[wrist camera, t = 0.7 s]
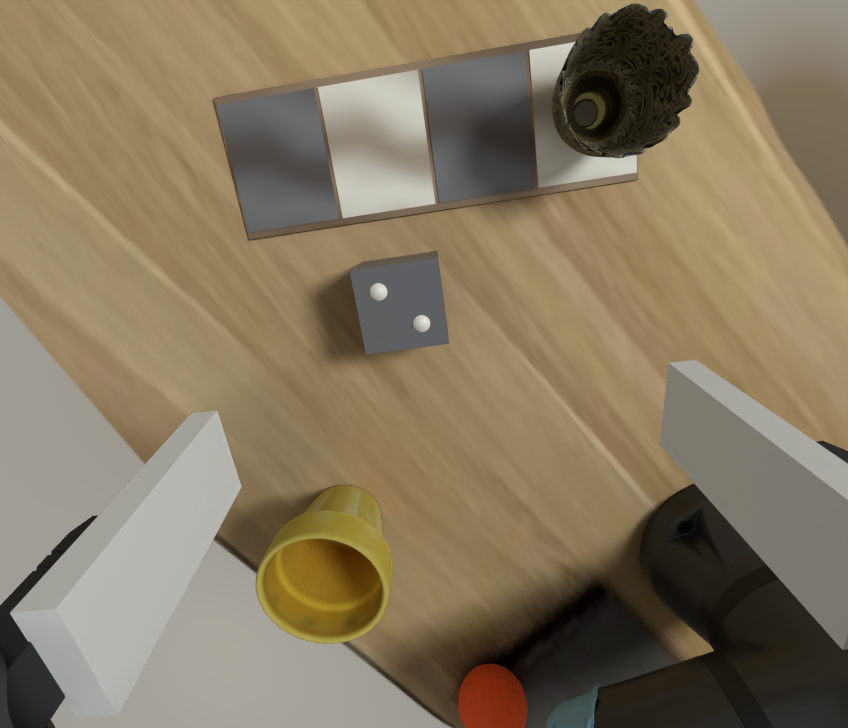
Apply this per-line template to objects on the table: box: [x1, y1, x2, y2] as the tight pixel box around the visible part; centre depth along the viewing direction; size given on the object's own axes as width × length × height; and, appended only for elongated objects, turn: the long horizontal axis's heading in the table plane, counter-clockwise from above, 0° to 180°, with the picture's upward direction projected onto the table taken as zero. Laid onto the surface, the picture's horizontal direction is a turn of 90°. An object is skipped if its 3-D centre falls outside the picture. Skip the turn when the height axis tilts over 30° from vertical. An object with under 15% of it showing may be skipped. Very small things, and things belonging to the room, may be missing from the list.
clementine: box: [458, 664, 527, 728], centre depth 47 cm, size 8×7×7 cm
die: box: [350, 251, 449, 355], centre depth 35 cm, size 6×6×6 cm
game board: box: [213, 33, 638, 240], centre depth 34 cm, size 10×30×1 cm, turn 98°
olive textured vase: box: [552, 4, 699, 158], centre depth 29 cm, size 8×7×8 cm
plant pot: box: [256, 485, 393, 644], centre depth 40 cm, size 10×10×10 cm
